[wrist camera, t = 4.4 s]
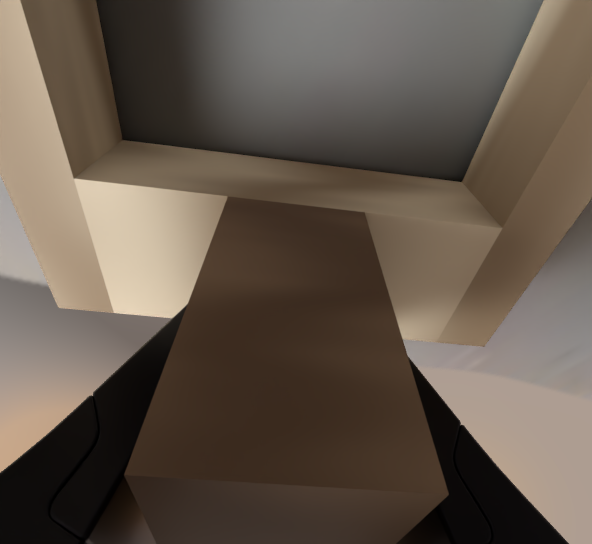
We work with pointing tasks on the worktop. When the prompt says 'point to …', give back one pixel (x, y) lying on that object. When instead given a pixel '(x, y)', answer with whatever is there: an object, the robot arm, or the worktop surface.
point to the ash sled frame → (287, 279)
